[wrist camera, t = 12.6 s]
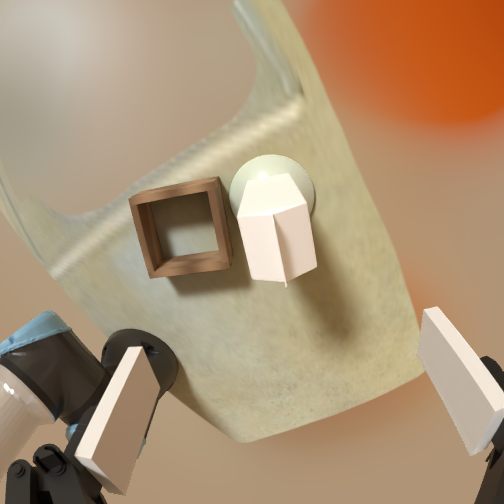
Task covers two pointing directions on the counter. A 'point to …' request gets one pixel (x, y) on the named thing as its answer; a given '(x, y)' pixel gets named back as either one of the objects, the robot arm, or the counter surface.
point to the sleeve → (150, 239)
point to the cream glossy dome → (268, 168)
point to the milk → (276, 229)
